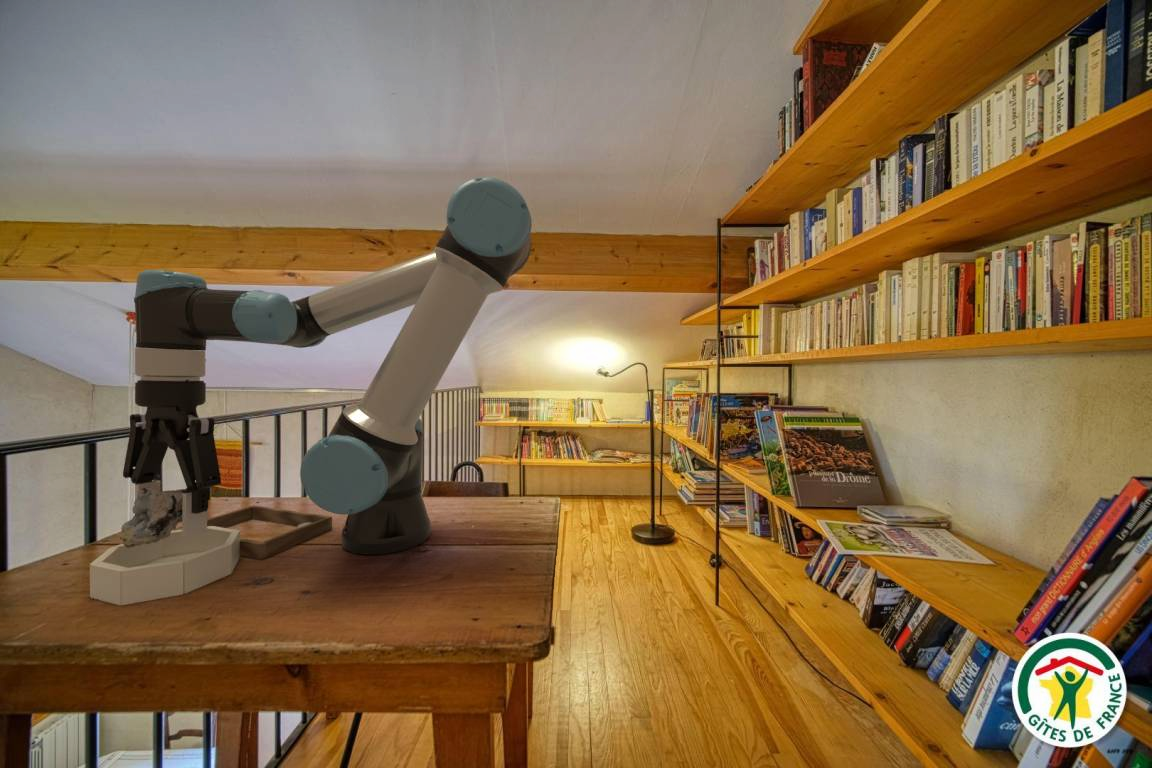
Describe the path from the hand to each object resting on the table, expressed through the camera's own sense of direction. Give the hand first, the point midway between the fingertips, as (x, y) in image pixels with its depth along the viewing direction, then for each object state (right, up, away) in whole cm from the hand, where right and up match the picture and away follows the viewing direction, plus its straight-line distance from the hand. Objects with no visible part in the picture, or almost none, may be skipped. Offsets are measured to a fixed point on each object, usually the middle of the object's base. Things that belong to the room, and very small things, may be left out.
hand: (170, 529), depth 63 cm
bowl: (0, -7, 0) cm, 7 cm away
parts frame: (+1, -7, +15) cm, 17 cm away
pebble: (+9, -7, +18) cm, 21 cm away
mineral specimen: (0, 0, 0) cm, 1 cm away
